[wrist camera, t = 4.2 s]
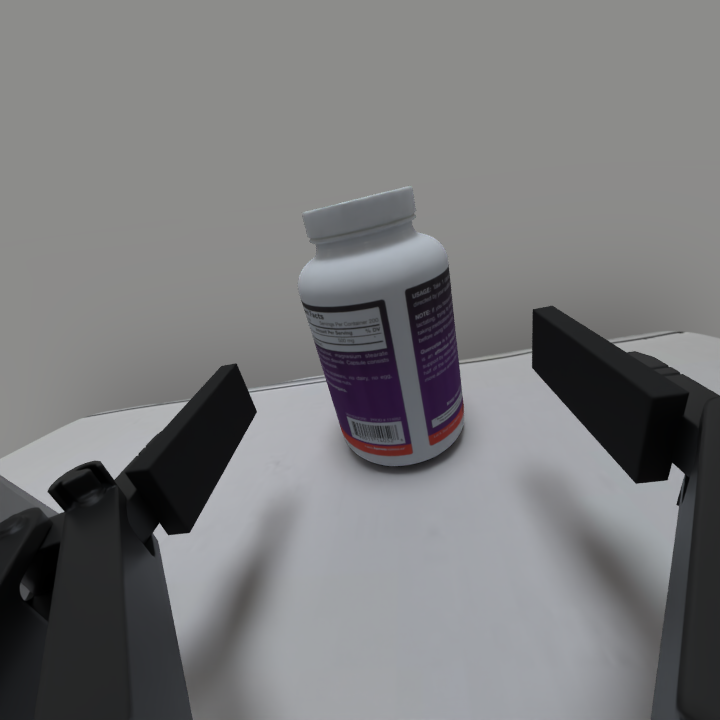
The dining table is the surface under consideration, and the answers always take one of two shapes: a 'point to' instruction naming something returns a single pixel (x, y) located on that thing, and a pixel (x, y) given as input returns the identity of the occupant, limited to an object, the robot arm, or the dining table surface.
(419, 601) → the dining table surface
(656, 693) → the robot arm
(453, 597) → the dining table surface
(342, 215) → the pill bottle
